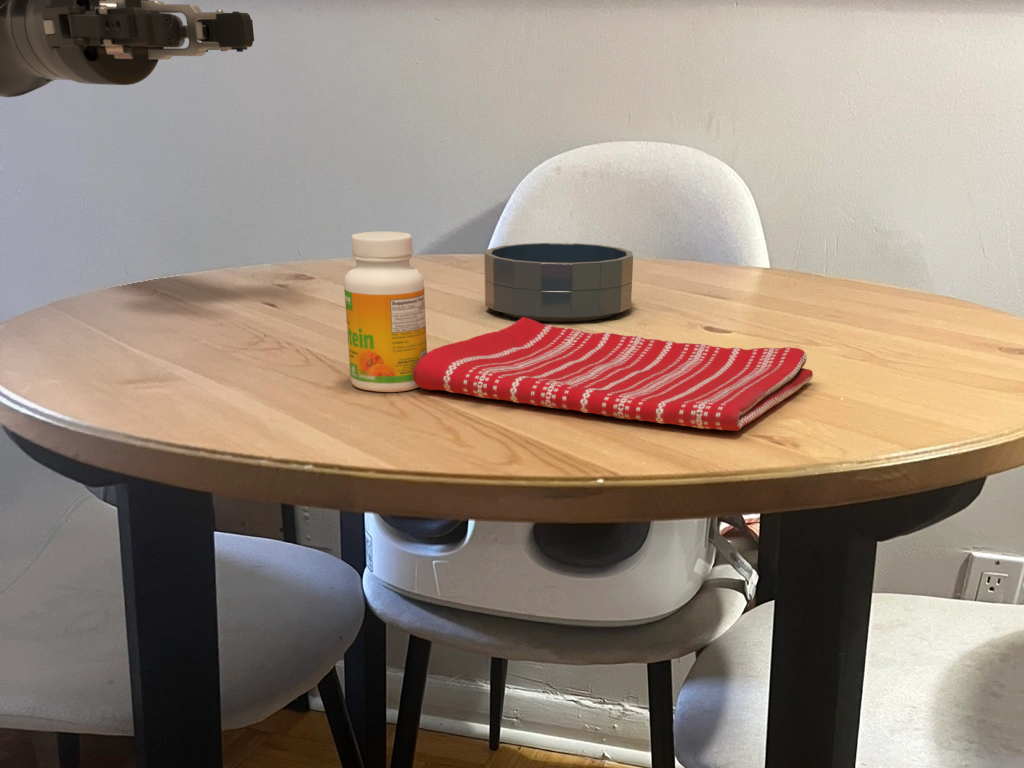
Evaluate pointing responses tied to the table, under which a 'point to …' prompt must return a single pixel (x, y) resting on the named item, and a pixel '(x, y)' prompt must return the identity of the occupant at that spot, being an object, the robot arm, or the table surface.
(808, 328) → the table surface
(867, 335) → the table surface
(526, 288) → the fruit bowl
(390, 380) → the supplement bottle
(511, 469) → the table surface
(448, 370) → the dish towel
